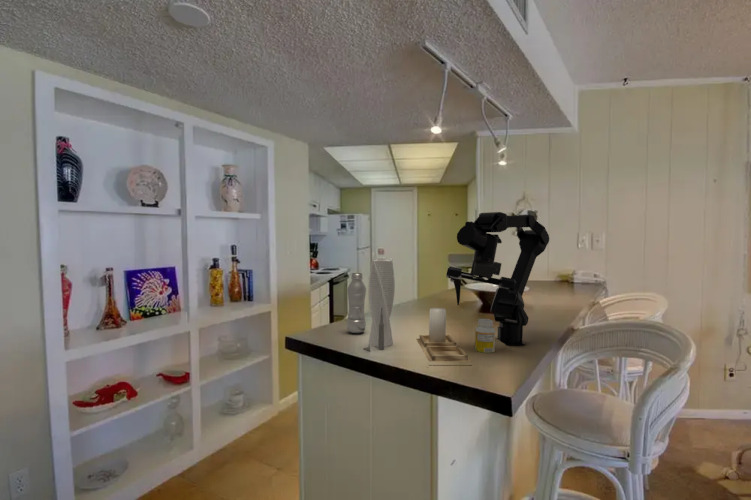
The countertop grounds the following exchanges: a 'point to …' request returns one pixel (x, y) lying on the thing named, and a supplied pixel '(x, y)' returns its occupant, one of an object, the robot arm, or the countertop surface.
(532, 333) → the countertop surface
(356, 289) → the plastic bottle
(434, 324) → the white rounded rod
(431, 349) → the caddy
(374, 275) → the skyscraper
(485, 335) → the supplement bottle
